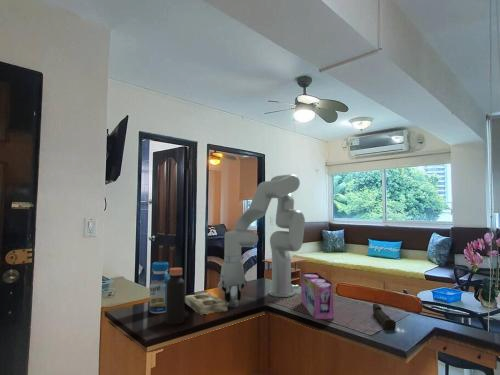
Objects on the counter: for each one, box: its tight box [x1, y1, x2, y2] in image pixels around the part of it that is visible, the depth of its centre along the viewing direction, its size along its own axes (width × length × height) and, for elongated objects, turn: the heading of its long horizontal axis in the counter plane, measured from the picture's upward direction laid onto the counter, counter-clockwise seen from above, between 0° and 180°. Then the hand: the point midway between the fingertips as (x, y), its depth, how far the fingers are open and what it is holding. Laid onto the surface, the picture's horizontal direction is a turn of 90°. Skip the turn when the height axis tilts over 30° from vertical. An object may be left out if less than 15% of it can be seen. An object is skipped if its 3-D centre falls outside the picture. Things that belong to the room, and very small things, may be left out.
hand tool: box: [372, 303, 397, 331], centre depth 122 cm, size 19×4×5 cm, turn 173°
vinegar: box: [165, 267, 186, 326], centre depth 122 cm, size 7×7×20 cm
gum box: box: [300, 272, 335, 320], centre depth 135 cm, size 24×8×14 cm, turn 5°
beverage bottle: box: [148, 261, 170, 314], centre depth 135 cm, size 8×8×20 cm
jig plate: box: [184, 292, 228, 316], centre depth 140 cm, size 12×20×3 cm, turn 30°
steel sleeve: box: [227, 285, 239, 308], centre depth 141 cm, size 4×4×9 cm
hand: (232, 300), depth 141 cm, fingers closed on steel sleeve, 4 cm apart
